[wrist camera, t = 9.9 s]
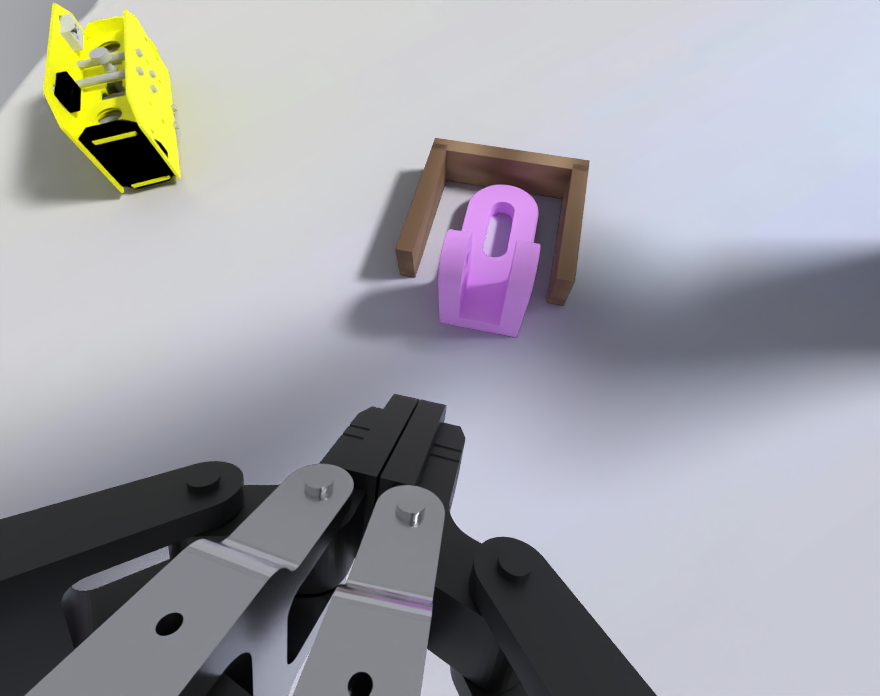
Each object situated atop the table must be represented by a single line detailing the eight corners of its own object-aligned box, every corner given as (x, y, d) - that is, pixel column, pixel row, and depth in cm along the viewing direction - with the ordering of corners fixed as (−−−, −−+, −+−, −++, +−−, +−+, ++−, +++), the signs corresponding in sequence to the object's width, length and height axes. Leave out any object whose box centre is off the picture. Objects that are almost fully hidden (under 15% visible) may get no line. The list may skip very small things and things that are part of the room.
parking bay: (578, 190, 35) (589, 160, 32) (563, 305, 30) (574, 281, 27) (436, 168, 36) (435, 137, 33) (400, 274, 31) (395, 249, 29)
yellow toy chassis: (120, 92, 42) (47, -7, 34) (176, 79, 43) (118, -20, 35) (122, 201, 35) (33, 109, 28) (189, 184, 36) (120, 90, 28)
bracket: (516, 338, 29) (535, 282, 23) (439, 323, 30) (437, 265, 23) (539, 203, 34) (559, 127, 28) (473, 193, 35) (479, 116, 29)
